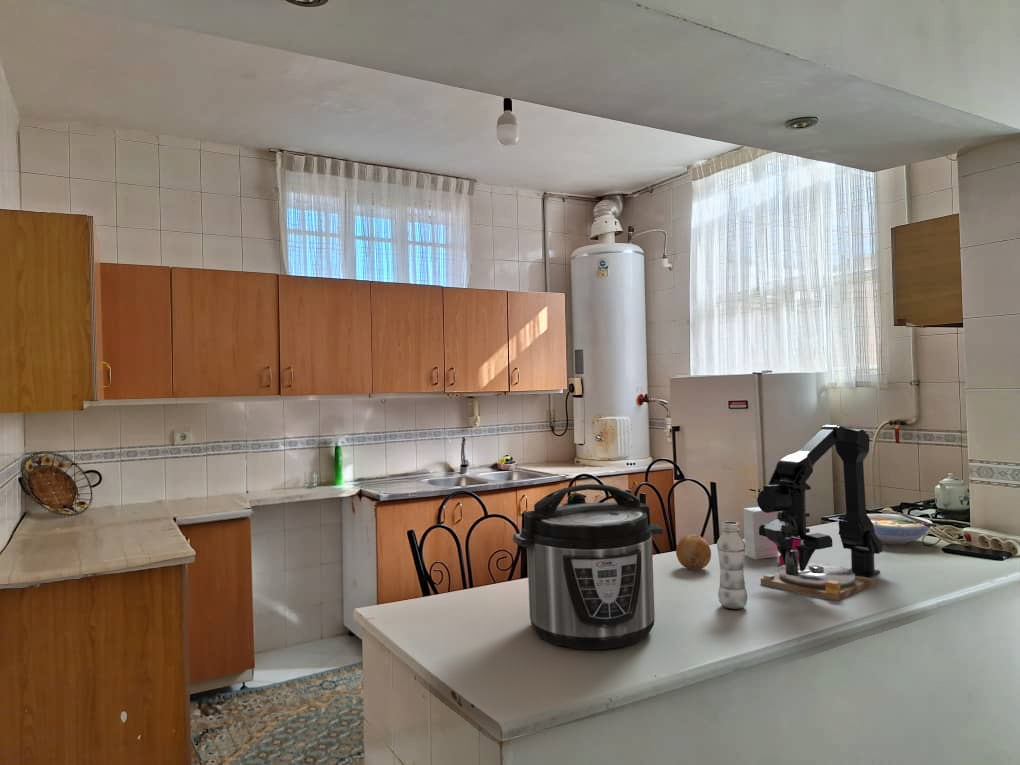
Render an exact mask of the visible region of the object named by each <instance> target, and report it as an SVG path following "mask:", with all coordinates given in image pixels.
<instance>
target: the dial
mask: <svg viewBox="0 0 1020 765" xmlns="http://www.w3.org/2000/svg"><path fill="white" fill-rule="evenodd" d="M785 561H786V566H785V565H784V564H781V566H779V568H778V570H779V571H778V572H779V576H780V578H782V579H783V580H785V581H787V582H790V583H793V584H798V585H802V586H809V587H818V588H826V582H827V581H829V580H832V581H837V582H840V587H847V586H850V585H853V584H854V583H855V576H856V574H854V572H852V571H851V570H849V569H850V568H849V569H848V568H846V567H844V566H839V565H834V564H830V563H829V564H828V563H822V562H808V564H807V566H806V568H805V570H804V571H800V566H799V563H798V551H797V550H793V549H787V550H785Z"/></svg>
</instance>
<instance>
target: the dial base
mask: <svg viewBox="0 0 1020 765" xmlns="http://www.w3.org/2000/svg"><path fill="white" fill-rule="evenodd" d="M760 585H762V586H765V587H766V586H767V587H772V588H775V589H780V590H781V589H782V590H785V591H789V592H794V593H799V594H803V595H808V596H811V597H816V598H820V599H825V600H830V601H834V602H838V601H840V600H842V599H844V598H847V597H849V596H852V595H853V594H855V593H858V592H861V591H863V590H865V589H868V588H870V587H872V586H874V579H873V578H869V577H864V576H863V577H862V576H860V575H859V576H858V575H855V583H854V584H853V585H850V586H847V587H840V582H837V581H832V580H829V581H827V582H826V588H818V587H809V586H802V585H798V584H793V583H790V582H787V581H785V580H783V579H782V578H780V576H779V571H778V572H775V573H772V574H770V573H767V574H766V573H765V574H764V575H763V577H761V578H760Z"/></svg>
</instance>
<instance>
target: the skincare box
mask: <svg viewBox="0 0 1020 765" xmlns="http://www.w3.org/2000/svg"><path fill="white" fill-rule="evenodd" d="M742 512H743V533H744V536H743V537H744V539H743V541H744V543H745V556H747V557H749V558H751V559H753V560H760V559H768V558H770V559H771V558H779V552H778V550H777V545H776V544H775V543H774V542H772V541H770V539H768V538H767V537H765V536H761V535H759V527H760V526H761V524H767V523H771V522H772V521H774V520H776V519H777V518H778V513H777V512H778V511H777V512H771V513H765V512H763V511H762V510H761V509H760V508H759V506H754V507H746V508H745V507H744V508H743V510H742Z"/></svg>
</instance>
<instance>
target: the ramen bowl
mask: <svg viewBox="0 0 1020 765" xmlns="http://www.w3.org/2000/svg"><path fill="white" fill-rule="evenodd" d="M894 513H896V514H893V513H866V514H867V516H868V517H869V518H870V520H871V521H872V523H873V526H874V531H875V534H876V536H877V537H878V538H879V540H880V541H881V542H882V544H888V545H896V546H897V545H898V546H899V545H905V544H906V543H909V542H914V541H917V540H919V539H921V538H922V537H924V535H925V534H926V533H927V532H928V531H929V530H930V528H931V527H933V528H936V527H937V524H934V523H933V522H932V521H931V520H930V519H927V518H923V517H918V516H911V515H906V514H904V513H902V512H898V511H896V512H894Z"/></svg>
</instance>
